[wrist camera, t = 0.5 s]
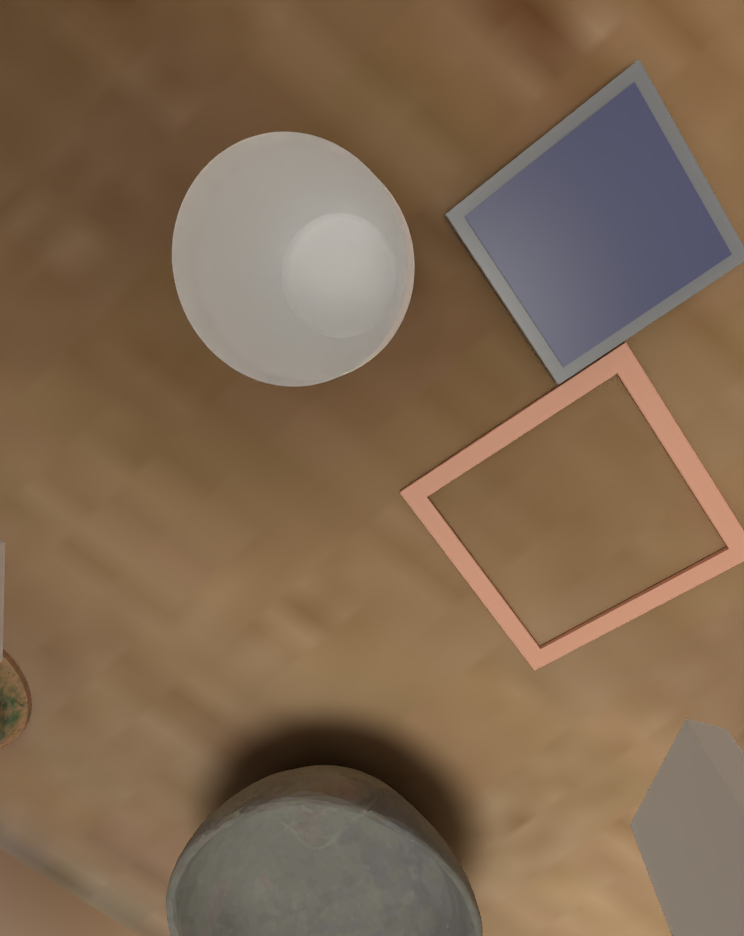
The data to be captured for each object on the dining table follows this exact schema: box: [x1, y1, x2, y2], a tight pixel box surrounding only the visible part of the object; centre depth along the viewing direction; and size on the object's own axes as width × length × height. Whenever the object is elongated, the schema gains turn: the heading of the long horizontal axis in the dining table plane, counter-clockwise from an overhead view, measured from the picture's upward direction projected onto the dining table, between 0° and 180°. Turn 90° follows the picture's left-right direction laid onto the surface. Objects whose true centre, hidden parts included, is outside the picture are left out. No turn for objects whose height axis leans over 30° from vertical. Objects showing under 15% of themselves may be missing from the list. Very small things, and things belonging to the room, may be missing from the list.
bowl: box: [166, 765, 482, 936], centre depth 40 cm, size 21×21×8 cm
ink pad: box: [445, 60, 744, 385], centre depth 29 cm, size 11×11×1 cm
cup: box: [172, 132, 415, 387], centre depth 26 cm, size 9×9×12 cm
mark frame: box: [400, 342, 744, 670], centre depth 34 cm, size 15×15×1 cm
